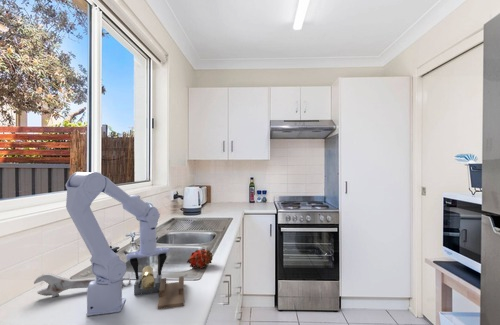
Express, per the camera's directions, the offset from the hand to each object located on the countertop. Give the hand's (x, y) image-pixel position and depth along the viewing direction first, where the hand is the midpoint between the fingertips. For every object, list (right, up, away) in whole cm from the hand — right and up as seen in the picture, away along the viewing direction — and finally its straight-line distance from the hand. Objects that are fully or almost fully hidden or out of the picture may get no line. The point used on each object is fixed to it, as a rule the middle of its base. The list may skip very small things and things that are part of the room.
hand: (148, 276), depth 99 cm
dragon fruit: (+15, -5, +20) cm, 25 cm away
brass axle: (0, 0, +1) cm, 1 cm away
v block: (0, -4, 0) cm, 4 cm away
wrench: (-22, -5, -2) cm, 23 cm away
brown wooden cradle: (+10, -4, -4) cm, 12 cm away
